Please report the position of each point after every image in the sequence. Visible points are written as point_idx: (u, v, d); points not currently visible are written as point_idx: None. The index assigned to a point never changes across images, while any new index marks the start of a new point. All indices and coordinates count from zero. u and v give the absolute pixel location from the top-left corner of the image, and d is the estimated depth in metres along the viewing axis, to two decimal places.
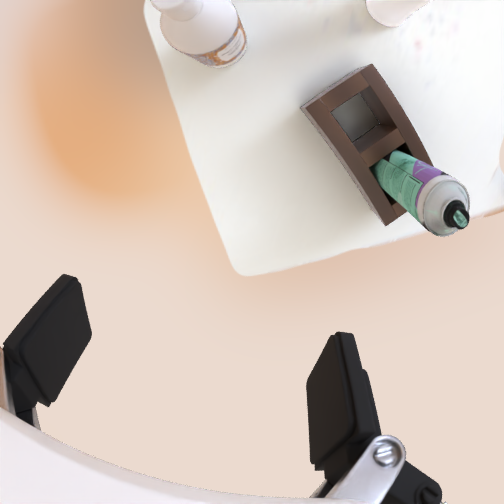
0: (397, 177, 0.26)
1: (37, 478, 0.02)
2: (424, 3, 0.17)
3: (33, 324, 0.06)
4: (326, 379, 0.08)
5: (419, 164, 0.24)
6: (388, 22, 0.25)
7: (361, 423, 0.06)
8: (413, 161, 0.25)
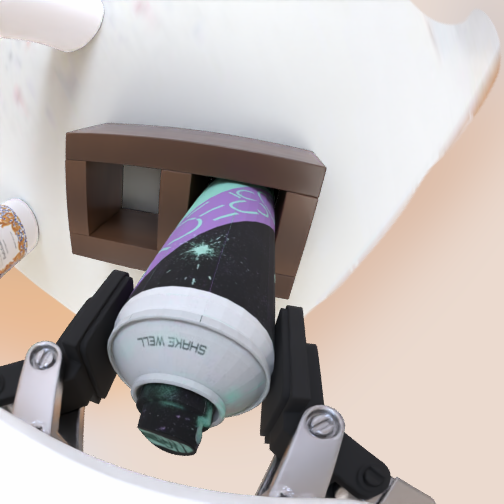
0: None
1: (37, 478, 0.02)
2: (16, 10, 0.07)
3: (92, 320, 0.07)
4: None
5: None
6: (80, 38, 0.16)
7: (295, 389, 0.07)
8: None
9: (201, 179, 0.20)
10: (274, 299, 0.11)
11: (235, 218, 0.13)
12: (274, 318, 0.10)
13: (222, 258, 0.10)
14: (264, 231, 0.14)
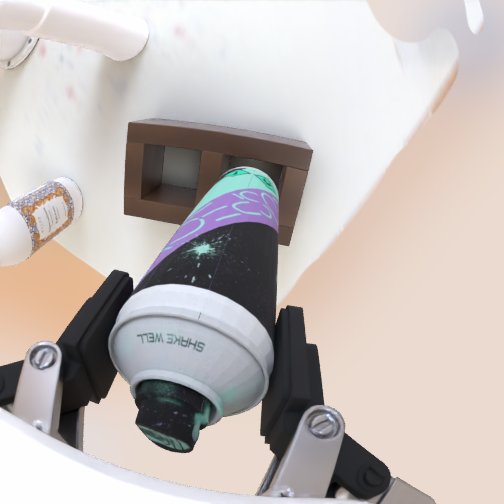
0: None
1: (37, 478, 0.02)
2: (92, 27, 0.16)
3: (92, 320, 0.07)
4: (275, 351, 0.09)
5: None
6: (131, 51, 0.24)
7: (295, 389, 0.07)
8: None
9: (226, 160, 0.28)
10: (275, 299, 0.11)
11: (237, 218, 0.13)
12: (274, 318, 0.10)
13: (223, 257, 0.10)
14: (266, 232, 0.14)
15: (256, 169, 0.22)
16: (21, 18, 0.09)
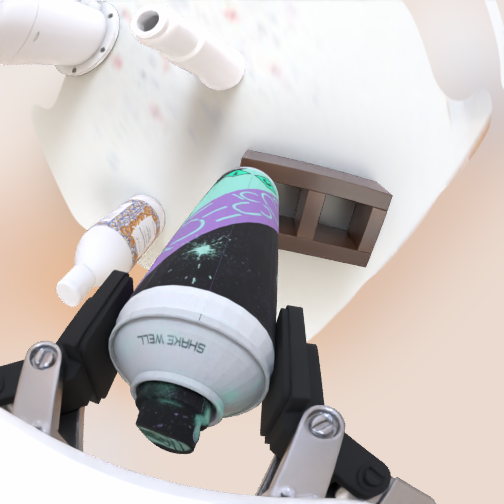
0: None
1: (37, 478, 0.02)
2: (220, 62, 0.22)
3: (92, 320, 0.07)
4: (275, 350, 0.09)
5: None
6: (231, 84, 0.30)
7: (295, 389, 0.07)
8: None
9: None
10: (275, 300, 0.11)
11: (238, 219, 0.13)
12: (275, 319, 0.10)
13: (223, 258, 0.10)
14: (267, 232, 0.14)
15: (256, 169, 0.22)
16: (183, 45, 0.14)
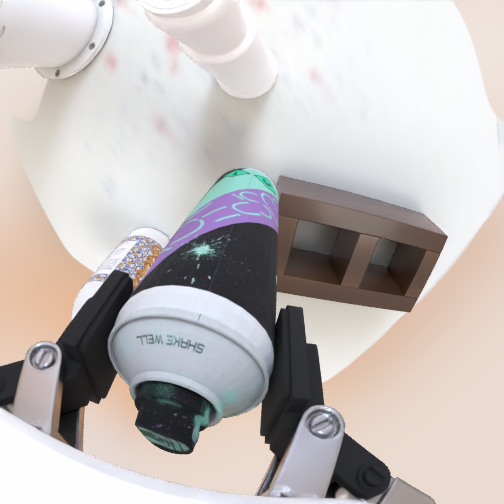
0: None
1: (37, 478, 0.02)
2: (262, 65, 0.15)
3: (92, 320, 0.07)
4: (275, 351, 0.09)
5: None
6: (261, 91, 0.23)
7: (295, 389, 0.07)
8: None
9: None
10: (275, 300, 0.11)
11: (237, 219, 0.13)
12: (274, 319, 0.10)
13: (222, 258, 0.10)
14: (266, 232, 0.14)
15: (256, 169, 0.22)
16: (229, 37, 0.08)
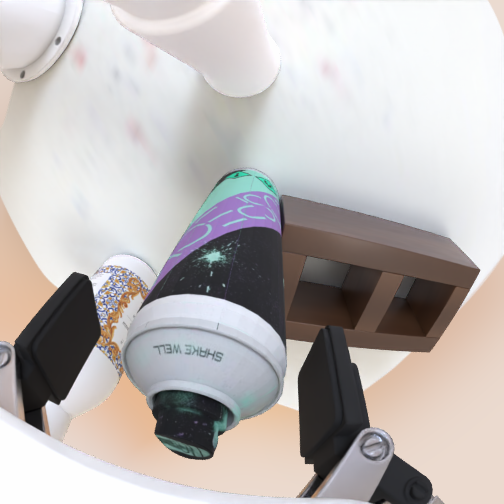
0: None
1: (37, 478, 0.02)
2: (258, 47, 0.10)
3: (45, 322, 0.07)
4: (316, 372, 0.09)
5: None
6: (259, 88, 0.18)
7: (348, 415, 0.06)
8: None
9: None
10: (284, 304, 0.11)
11: (244, 224, 0.13)
12: (285, 323, 0.10)
13: (234, 265, 0.10)
14: (272, 236, 0.14)
15: (256, 170, 0.22)
16: None
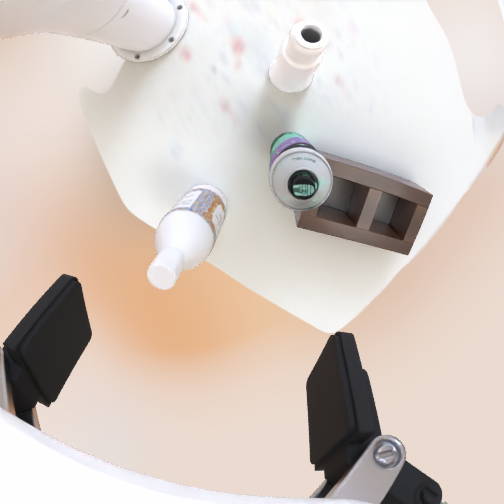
0: None
1: (37, 478, 0.02)
2: None
3: (33, 324, 0.06)
4: (326, 379, 0.08)
5: (274, 152, 0.27)
6: (302, 88, 0.33)
7: (361, 423, 0.06)
8: (274, 150, 0.29)
9: None
10: None
11: (306, 142, 0.28)
12: None
13: (310, 147, 0.25)
14: None
15: (297, 134, 0.37)
16: (317, 58, 0.18)
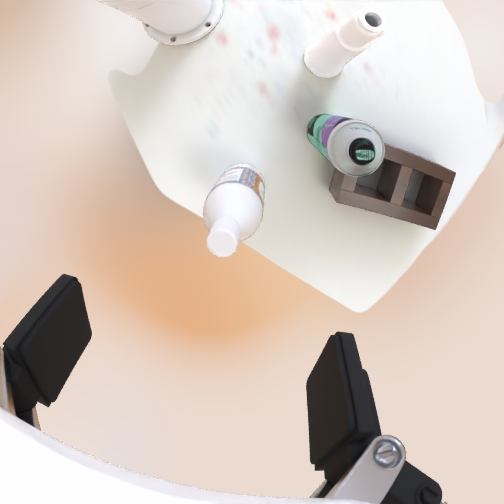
0: (320, 148, 0.30)
1: (37, 478, 0.02)
2: None
3: (33, 324, 0.06)
4: (326, 379, 0.08)
5: (324, 127, 0.28)
6: (336, 73, 0.33)
7: (361, 423, 0.06)
8: (322, 126, 0.29)
9: None
10: None
11: None
12: None
13: None
14: None
15: None
16: (370, 41, 0.18)
